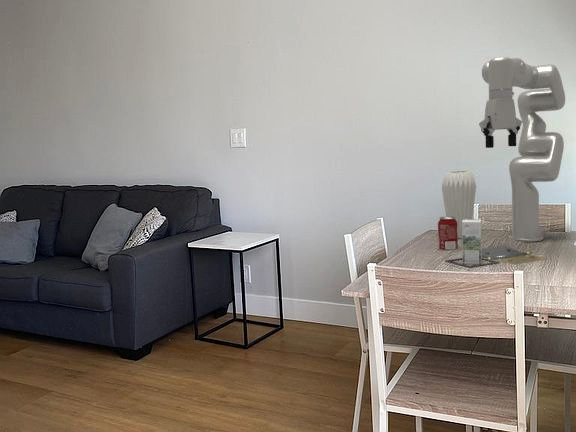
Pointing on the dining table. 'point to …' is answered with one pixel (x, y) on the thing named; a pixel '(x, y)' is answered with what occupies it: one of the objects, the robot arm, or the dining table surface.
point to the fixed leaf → (520, 259)
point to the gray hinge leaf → (500, 252)
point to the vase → (459, 196)
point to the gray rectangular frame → (472, 265)
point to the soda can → (447, 233)
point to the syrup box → (471, 241)
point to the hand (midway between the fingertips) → (501, 146)
